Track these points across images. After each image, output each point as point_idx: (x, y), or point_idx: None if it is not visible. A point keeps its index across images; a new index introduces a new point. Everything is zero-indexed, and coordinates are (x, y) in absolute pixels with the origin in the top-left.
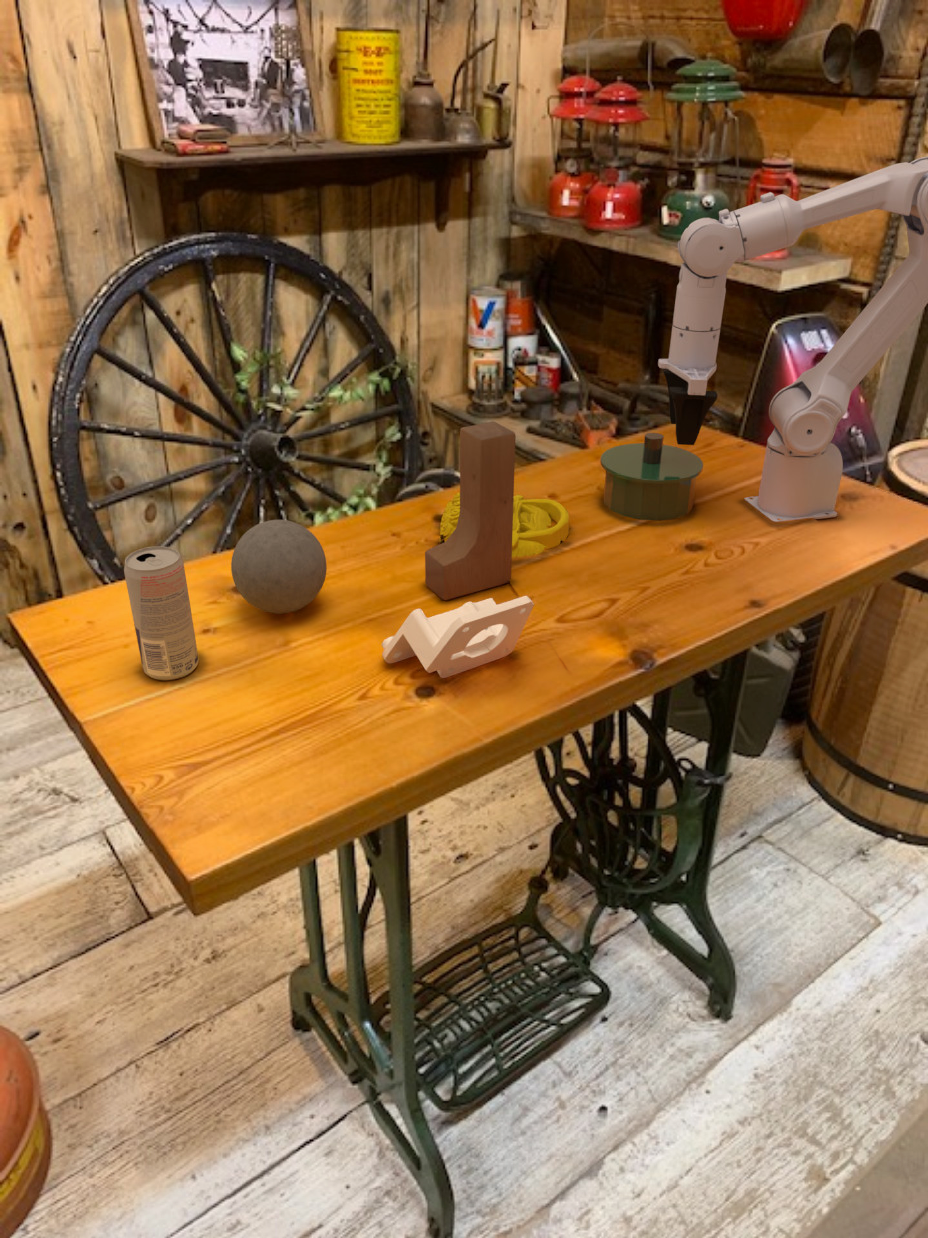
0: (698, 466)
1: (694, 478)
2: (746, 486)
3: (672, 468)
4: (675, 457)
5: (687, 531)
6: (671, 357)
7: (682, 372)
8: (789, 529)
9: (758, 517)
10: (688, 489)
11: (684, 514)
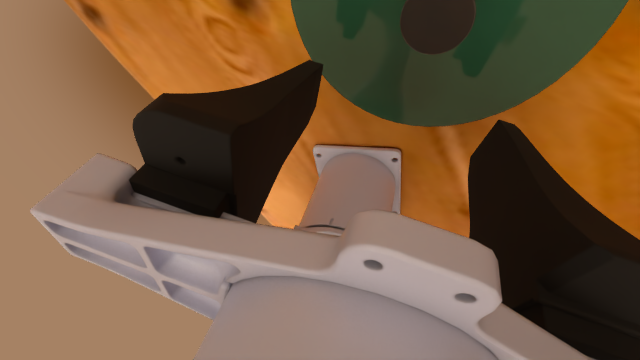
0: (365, 101)
1: None
2: (456, 179)
3: (364, 33)
4: (439, 74)
5: None
6: (314, 332)
7: (139, 236)
8: (303, 154)
9: (343, 140)
10: None
11: None
